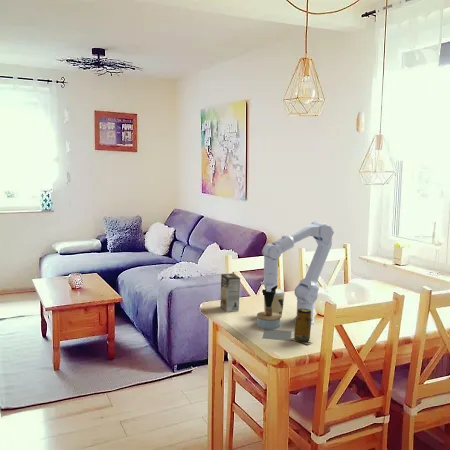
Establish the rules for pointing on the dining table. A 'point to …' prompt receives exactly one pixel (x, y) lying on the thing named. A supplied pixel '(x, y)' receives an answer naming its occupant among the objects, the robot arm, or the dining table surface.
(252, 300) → the dining table surface
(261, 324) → the bowl
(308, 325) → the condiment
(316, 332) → the dining table surface
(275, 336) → the mat
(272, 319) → the lid
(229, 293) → the coffee box
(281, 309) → the coffee cup
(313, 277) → the robot arm
